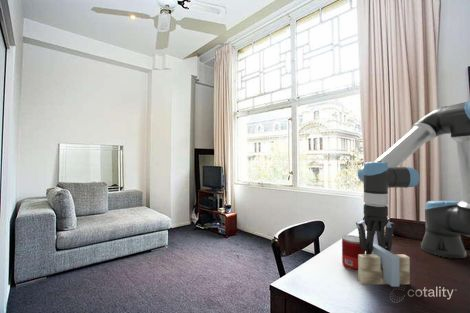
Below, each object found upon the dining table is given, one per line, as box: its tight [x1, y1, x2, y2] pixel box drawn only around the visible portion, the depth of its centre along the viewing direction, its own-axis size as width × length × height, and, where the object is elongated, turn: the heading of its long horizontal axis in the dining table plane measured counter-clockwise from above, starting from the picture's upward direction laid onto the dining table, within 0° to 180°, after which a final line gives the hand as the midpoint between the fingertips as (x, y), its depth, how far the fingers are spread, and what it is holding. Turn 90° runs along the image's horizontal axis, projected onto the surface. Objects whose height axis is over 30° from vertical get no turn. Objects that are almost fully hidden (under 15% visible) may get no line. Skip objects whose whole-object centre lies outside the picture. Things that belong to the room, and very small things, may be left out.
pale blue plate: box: [372, 243, 400, 287], centre depth 78 cm, size 12×2×9 cm, turn 0°
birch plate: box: [357, 253, 411, 285], centre depth 78 cm, size 16×2×9 cm, turn 90°
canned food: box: [341, 234, 366, 272], centre depth 89 cm, size 8×8×11 cm
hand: (375, 269), depth 82 cm, fingers closed on pale blue plate, 2 cm apart
